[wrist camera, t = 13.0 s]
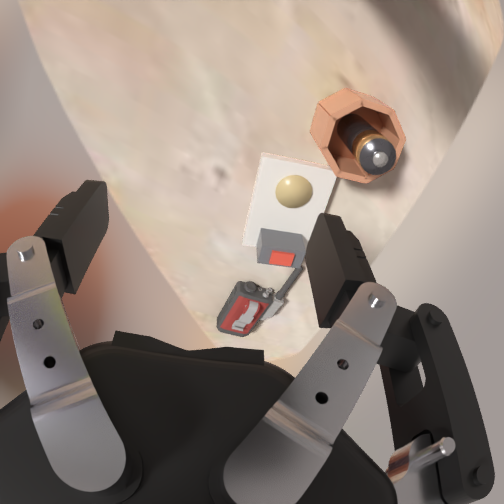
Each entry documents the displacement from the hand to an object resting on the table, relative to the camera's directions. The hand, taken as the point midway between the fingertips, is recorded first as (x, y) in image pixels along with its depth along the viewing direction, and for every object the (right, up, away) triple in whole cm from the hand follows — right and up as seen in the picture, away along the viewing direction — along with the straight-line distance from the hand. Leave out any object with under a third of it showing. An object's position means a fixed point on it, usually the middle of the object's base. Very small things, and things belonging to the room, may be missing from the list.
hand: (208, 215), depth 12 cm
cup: (+14, +14, +25) cm, 32 cm away
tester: (+6, +5, +32) cm, 33 cm away
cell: (+14, +14, +24) cm, 31 cm away
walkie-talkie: (+2, -9, +45) cm, 45 cm away
